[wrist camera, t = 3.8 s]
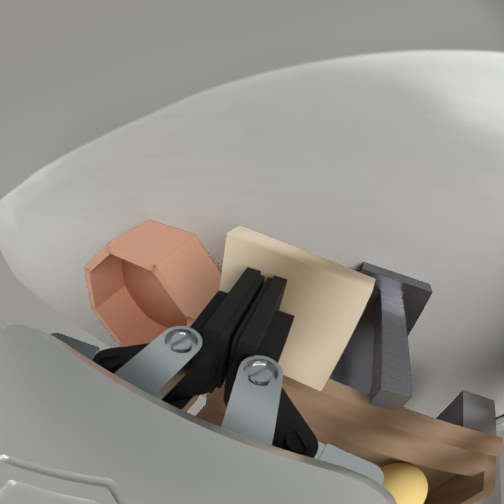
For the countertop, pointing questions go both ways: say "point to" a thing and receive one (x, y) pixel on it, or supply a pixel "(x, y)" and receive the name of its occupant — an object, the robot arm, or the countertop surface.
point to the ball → (405, 483)
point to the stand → (383, 339)
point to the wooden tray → (351, 400)
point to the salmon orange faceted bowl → (150, 282)
